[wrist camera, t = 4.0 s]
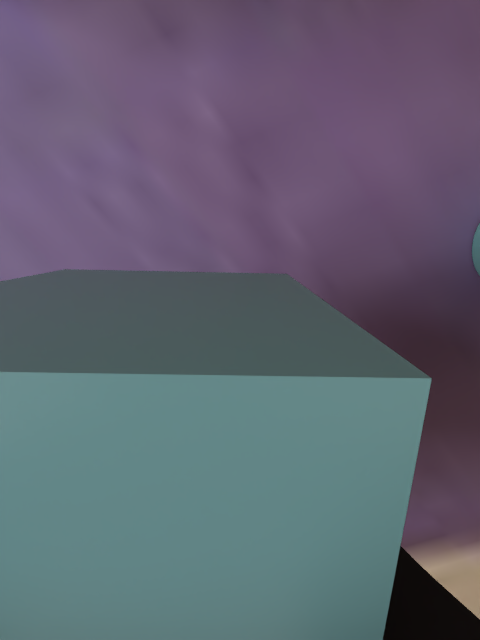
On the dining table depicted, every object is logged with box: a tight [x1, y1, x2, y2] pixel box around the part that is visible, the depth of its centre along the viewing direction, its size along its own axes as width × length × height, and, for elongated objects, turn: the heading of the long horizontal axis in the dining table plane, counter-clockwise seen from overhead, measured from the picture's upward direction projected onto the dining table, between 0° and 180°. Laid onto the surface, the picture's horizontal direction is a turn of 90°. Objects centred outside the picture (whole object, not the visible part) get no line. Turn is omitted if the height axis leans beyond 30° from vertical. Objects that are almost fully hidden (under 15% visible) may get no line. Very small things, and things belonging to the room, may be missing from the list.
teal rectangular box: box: [0, 269, 432, 640], centre depth 6 cm, size 6×10×6 cm, turn 179°
